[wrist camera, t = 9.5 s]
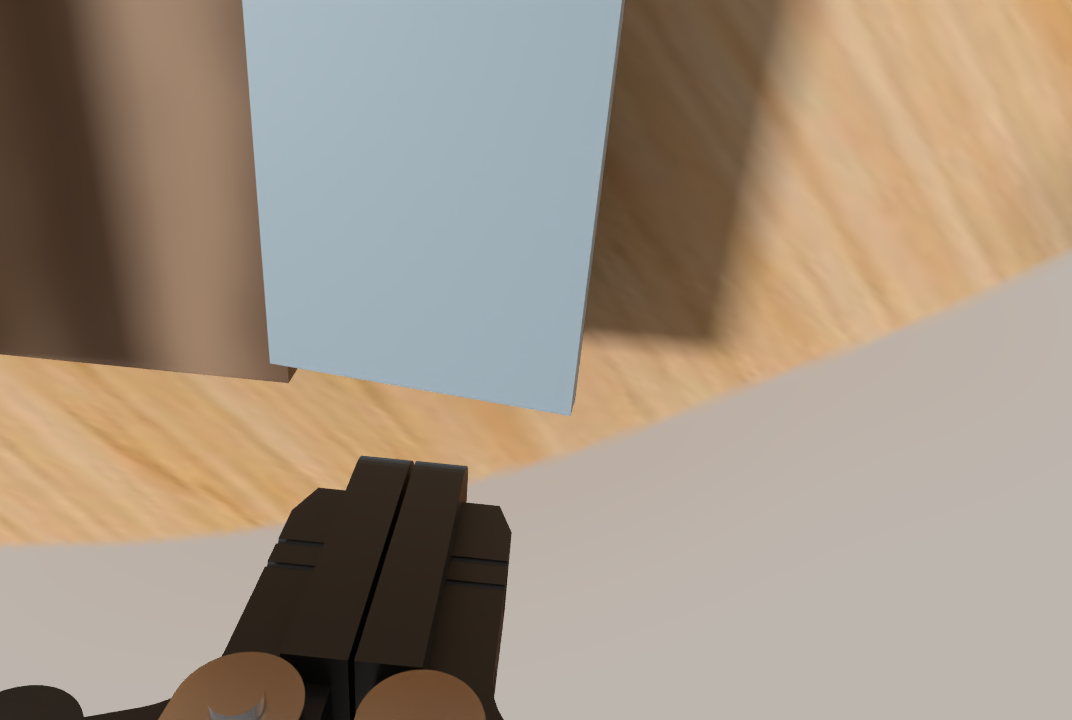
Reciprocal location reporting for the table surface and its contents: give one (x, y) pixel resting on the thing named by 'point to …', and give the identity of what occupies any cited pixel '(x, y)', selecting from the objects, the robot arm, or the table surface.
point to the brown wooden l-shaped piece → (130, 188)
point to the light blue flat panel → (432, 187)
